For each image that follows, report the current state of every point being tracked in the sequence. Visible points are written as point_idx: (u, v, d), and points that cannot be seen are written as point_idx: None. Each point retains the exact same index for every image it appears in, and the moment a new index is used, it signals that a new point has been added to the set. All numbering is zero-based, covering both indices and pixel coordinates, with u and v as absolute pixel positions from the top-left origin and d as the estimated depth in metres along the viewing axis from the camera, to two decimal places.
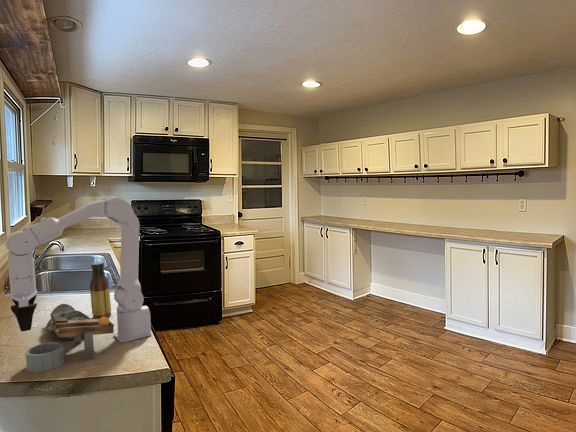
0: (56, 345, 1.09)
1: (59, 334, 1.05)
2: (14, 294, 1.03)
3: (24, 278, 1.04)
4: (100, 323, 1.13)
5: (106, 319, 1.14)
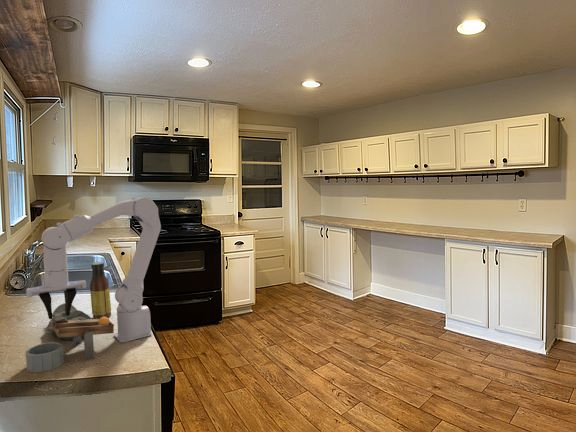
0: (56, 345, 1.09)
1: (59, 334, 1.05)
2: None
3: (45, 271, 1.10)
4: (100, 323, 1.13)
5: (106, 319, 1.14)
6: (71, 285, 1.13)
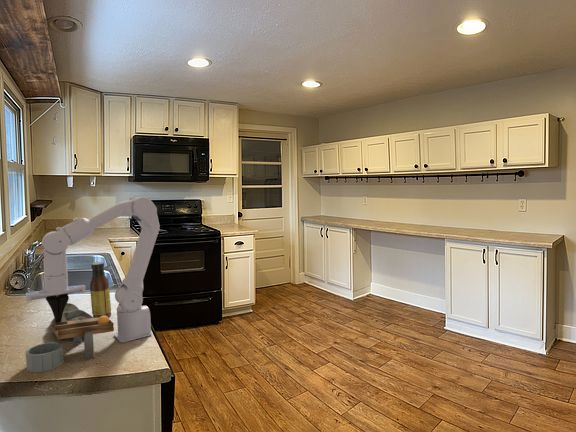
0: (56, 345, 1.09)
1: (59, 336, 1.05)
2: None
3: (44, 276, 1.10)
4: (100, 322, 1.13)
5: (105, 318, 1.14)
6: (71, 290, 1.13)
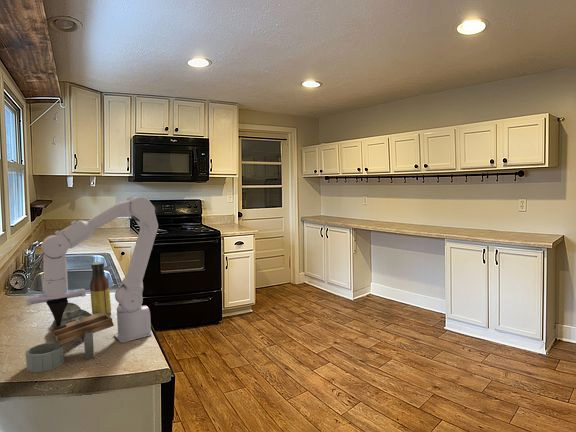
0: (56, 345, 1.09)
1: (59, 342, 1.05)
2: None
3: (44, 280, 1.10)
4: None
5: None
6: (70, 294, 1.13)
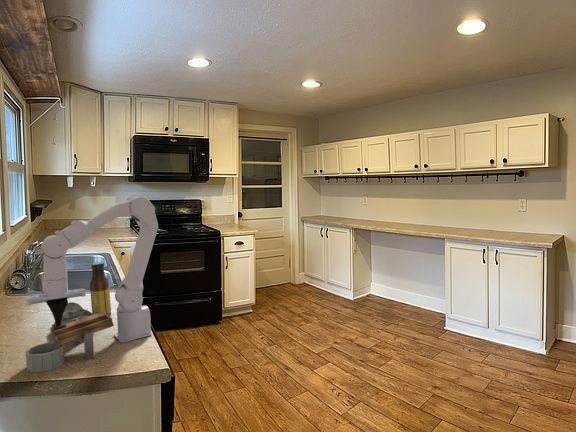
0: (56, 345, 1.09)
1: (59, 342, 1.05)
2: None
3: (44, 280, 1.10)
4: None
5: None
6: (70, 294, 1.13)
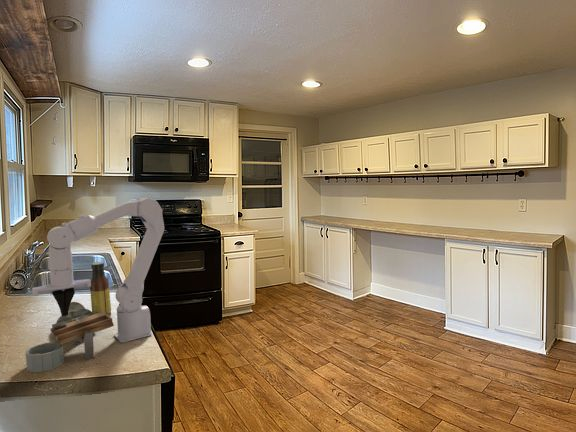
0: (56, 345, 1.09)
1: (59, 342, 1.05)
2: None
3: (50, 270, 1.11)
4: None
5: None
6: (76, 284, 1.14)
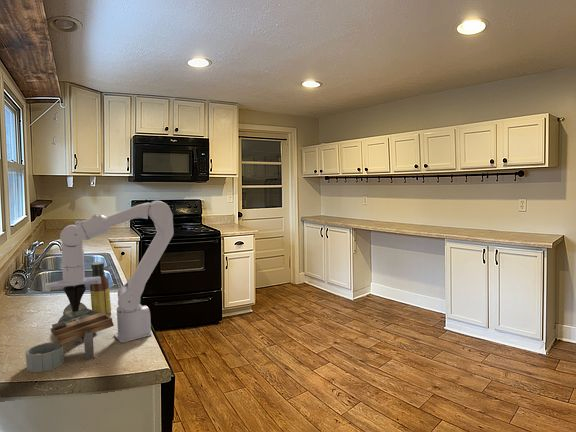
0: (56, 345, 1.09)
1: (59, 342, 1.05)
2: None
3: (63, 267, 1.15)
4: None
5: None
6: (87, 281, 1.18)
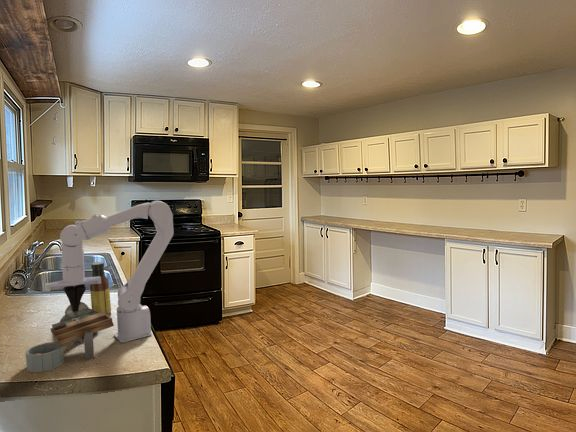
0: (56, 345, 1.09)
1: (59, 342, 1.05)
2: None
3: (63, 267, 1.15)
4: None
5: None
6: (87, 281, 1.18)
